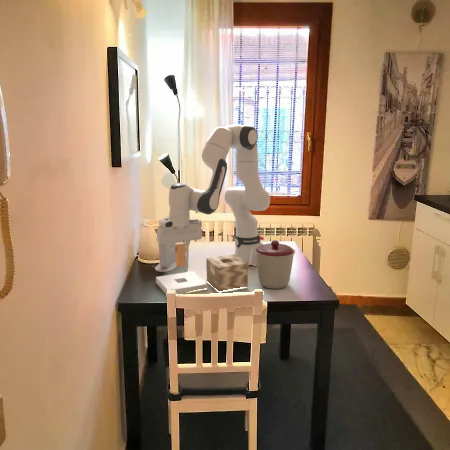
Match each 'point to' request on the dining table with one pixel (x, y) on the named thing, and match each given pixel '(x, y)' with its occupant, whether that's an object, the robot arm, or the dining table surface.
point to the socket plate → (181, 282)
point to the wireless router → (166, 258)
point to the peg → (180, 254)
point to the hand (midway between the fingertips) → (180, 250)
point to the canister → (274, 264)
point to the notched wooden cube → (227, 272)
